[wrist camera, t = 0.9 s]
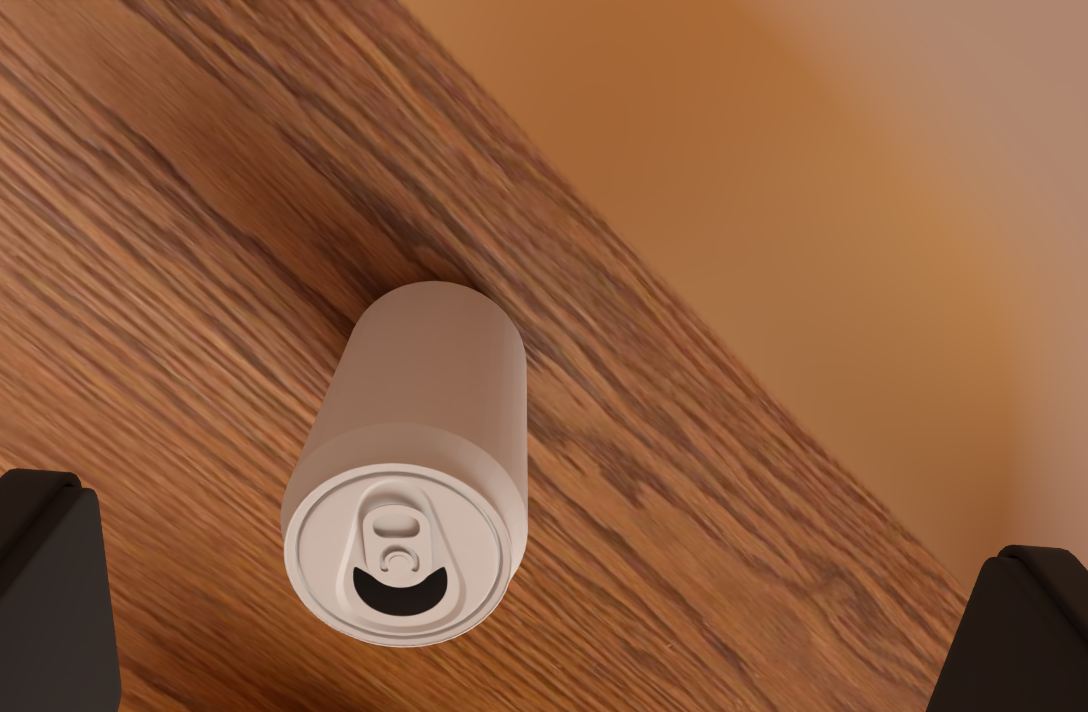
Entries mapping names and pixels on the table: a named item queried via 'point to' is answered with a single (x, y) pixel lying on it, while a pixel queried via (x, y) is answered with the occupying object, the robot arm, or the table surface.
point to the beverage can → (414, 472)
